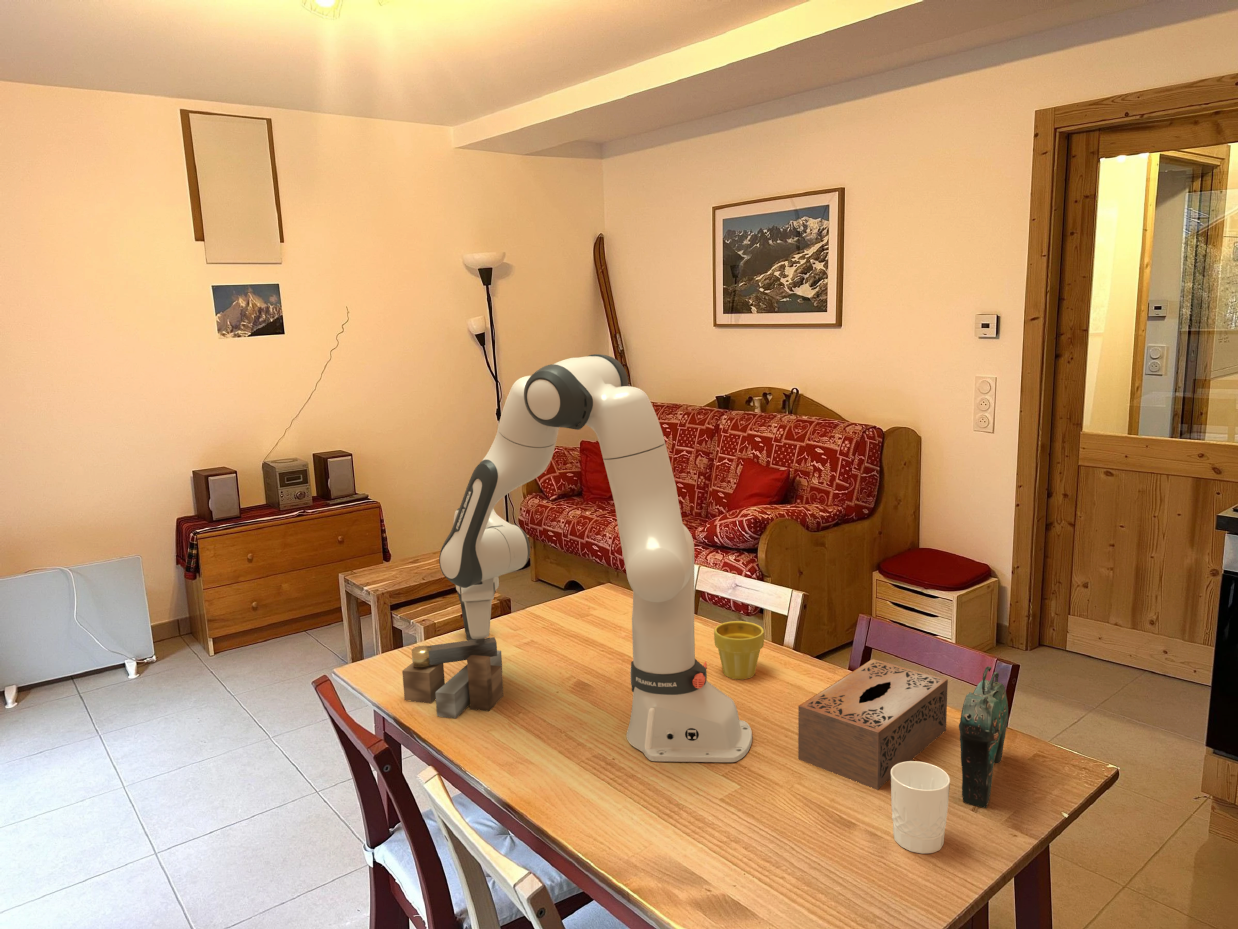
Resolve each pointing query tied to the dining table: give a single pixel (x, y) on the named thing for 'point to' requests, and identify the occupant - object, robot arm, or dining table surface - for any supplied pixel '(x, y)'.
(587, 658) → the dining table surface
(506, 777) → the dining table surface
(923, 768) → the white cup
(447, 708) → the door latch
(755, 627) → the plant pot
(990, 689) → the dark green upright piece
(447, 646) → the bar
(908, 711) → the tissue box cover
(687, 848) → the dining table surface
